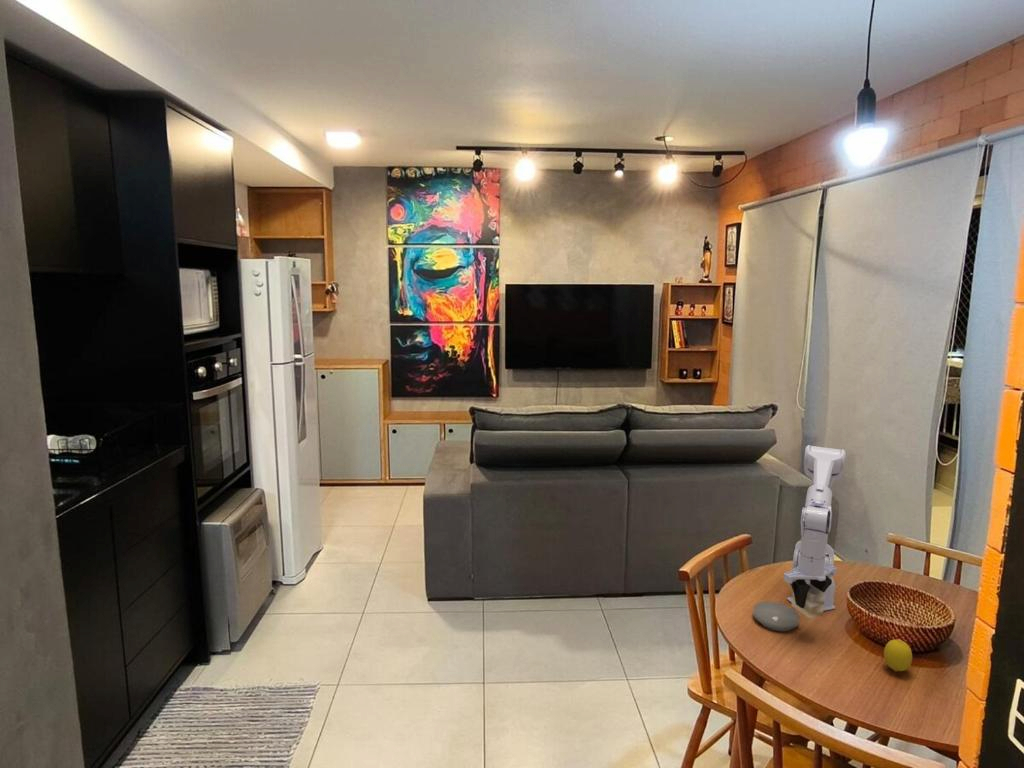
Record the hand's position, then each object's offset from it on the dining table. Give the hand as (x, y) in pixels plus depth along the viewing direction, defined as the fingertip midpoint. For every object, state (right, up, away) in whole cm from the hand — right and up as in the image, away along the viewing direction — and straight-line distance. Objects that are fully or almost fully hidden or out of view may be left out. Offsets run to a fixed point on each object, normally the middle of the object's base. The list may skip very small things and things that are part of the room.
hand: (807, 604), depth 154 cm
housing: (0, -2, 0) cm, 2 cm away
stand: (-4, -7, +8) cm, 12 cm away
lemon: (+15, -12, -11) cm, 22 cm away
